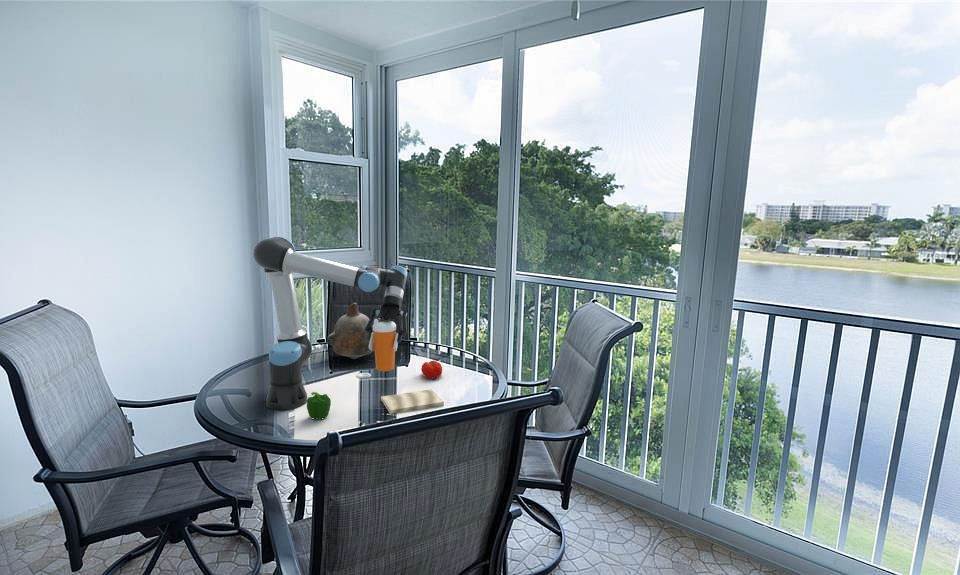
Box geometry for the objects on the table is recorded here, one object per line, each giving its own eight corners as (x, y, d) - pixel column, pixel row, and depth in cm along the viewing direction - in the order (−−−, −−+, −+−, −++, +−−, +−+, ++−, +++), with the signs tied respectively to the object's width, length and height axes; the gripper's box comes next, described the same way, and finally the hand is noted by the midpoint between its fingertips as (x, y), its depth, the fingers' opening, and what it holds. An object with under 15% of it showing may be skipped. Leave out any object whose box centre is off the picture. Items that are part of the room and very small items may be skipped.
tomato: (423, 381, 214) (423, 367, 213) (419, 372, 225) (420, 359, 223) (444, 379, 217) (444, 366, 216) (440, 371, 227) (440, 358, 226)
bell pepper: (333, 412, 178) (333, 387, 177) (327, 422, 170) (326, 396, 169) (311, 412, 178) (310, 387, 176) (304, 421, 170) (303, 395, 168)
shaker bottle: (391, 373, 177) (390, 321, 174) (369, 371, 179) (368, 320, 175) (400, 365, 186) (399, 316, 182) (379, 363, 187) (378, 315, 184)
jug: (359, 349, 257) (358, 295, 252) (386, 357, 244) (386, 301, 239) (321, 360, 237) (319, 302, 232) (348, 369, 225) (347, 308, 220)
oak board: (390, 413, 179) (390, 410, 179) (381, 400, 191) (381, 396, 191) (443, 405, 188) (443, 401, 188) (431, 392, 201) (431, 389, 200)
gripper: (420, 305, 193) (412, 354, 180) (369, 303, 194) (357, 352, 181) (417, 295, 187) (408, 345, 174) (364, 293, 188) (352, 343, 175)
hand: (382, 349), depth 178 cm, fingers closed on shaker bottle, 9 cm apart
